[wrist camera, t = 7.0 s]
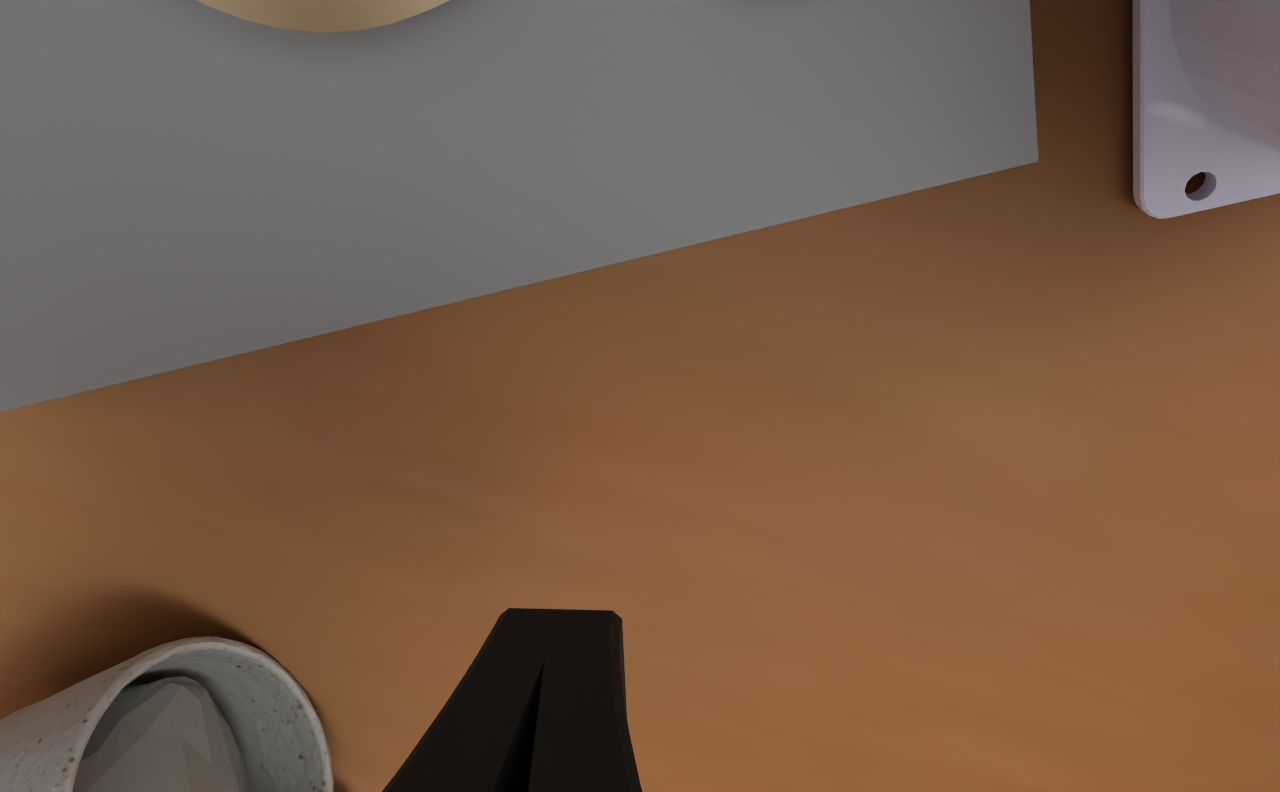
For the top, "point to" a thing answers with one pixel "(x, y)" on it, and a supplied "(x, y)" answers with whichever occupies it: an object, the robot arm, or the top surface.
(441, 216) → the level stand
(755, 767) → the top surface
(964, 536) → the top surface
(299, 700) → the ceramic mug
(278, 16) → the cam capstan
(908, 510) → the top surface
